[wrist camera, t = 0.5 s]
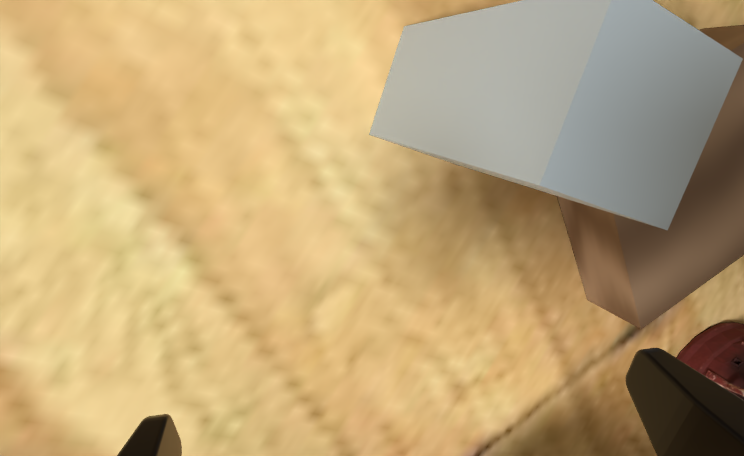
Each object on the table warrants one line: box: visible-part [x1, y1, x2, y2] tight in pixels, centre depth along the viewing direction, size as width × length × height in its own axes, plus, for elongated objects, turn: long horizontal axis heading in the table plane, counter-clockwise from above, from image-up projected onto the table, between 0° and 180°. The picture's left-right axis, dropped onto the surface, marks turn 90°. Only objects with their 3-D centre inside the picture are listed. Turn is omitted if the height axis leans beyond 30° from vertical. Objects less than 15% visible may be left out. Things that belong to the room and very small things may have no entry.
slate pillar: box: [369, 0, 743, 230], centre depth 18 cm, size 5×5×12 cm
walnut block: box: [557, 25, 744, 329], centre depth 28 cm, size 12×12×4 cm
